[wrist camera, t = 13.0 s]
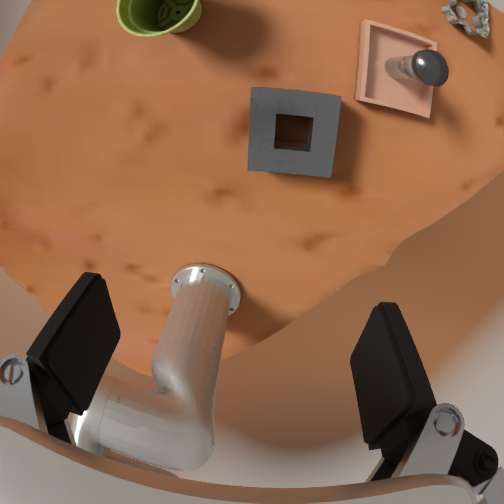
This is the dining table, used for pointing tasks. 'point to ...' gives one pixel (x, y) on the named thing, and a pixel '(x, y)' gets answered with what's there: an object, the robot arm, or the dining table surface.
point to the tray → (375, 76)
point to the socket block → (293, 153)
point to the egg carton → (478, 21)
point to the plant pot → (157, 16)
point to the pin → (419, 67)
